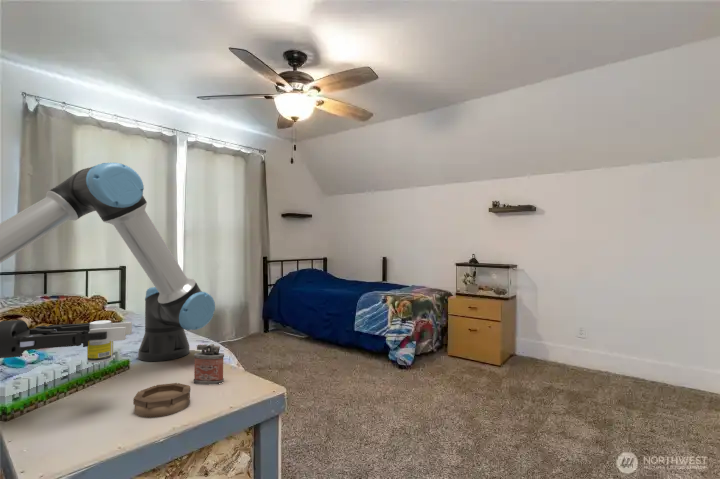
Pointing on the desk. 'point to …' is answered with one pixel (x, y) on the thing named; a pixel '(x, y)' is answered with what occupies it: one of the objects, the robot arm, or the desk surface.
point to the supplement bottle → (99, 345)
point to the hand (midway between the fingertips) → (128, 330)
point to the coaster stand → (162, 400)
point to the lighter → (208, 365)
